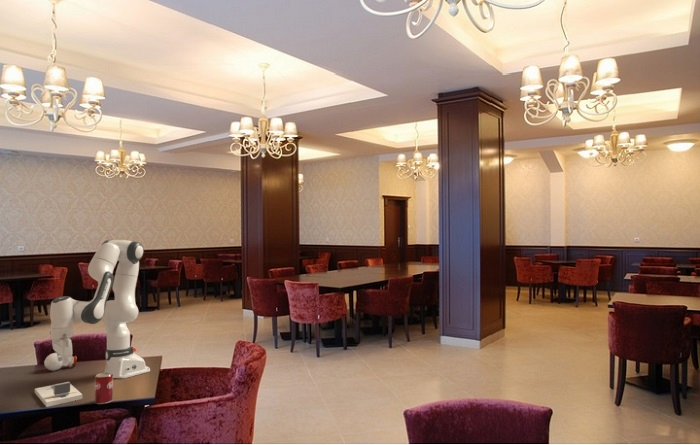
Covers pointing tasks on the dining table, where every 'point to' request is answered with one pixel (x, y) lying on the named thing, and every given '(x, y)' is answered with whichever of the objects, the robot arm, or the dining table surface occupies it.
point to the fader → (61, 389)
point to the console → (50, 399)
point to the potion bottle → (54, 364)
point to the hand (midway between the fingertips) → (62, 363)
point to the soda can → (103, 388)
